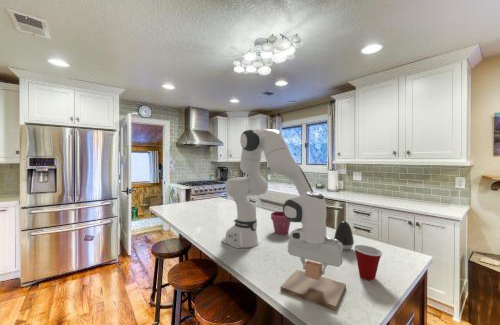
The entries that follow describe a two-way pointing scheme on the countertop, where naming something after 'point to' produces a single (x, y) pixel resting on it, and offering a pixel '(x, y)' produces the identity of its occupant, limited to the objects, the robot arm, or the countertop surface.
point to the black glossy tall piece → (344, 235)
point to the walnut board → (315, 289)
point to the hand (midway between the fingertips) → (313, 271)
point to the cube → (313, 269)
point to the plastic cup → (367, 261)
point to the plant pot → (280, 222)
